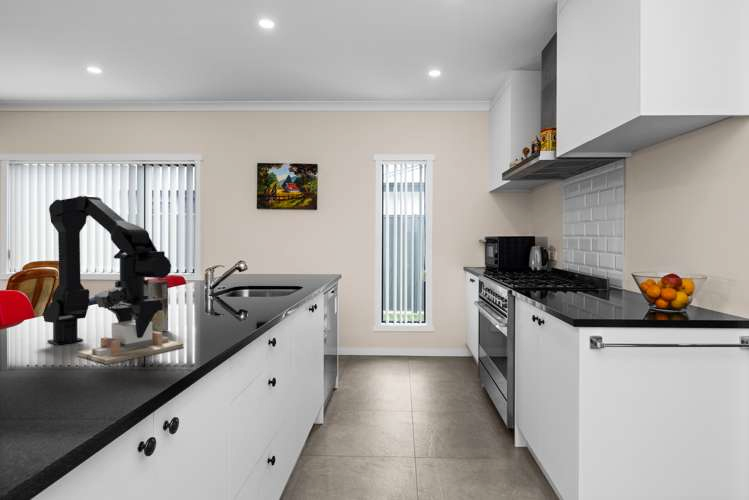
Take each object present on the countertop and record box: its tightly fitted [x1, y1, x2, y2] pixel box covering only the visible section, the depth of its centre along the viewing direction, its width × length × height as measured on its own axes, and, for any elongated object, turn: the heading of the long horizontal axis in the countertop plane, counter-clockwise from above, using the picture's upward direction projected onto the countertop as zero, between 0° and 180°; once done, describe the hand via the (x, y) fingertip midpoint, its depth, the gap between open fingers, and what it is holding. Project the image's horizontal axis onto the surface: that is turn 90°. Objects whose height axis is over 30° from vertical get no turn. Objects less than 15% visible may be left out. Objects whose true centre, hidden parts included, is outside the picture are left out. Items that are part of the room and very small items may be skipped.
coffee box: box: [132, 280, 169, 333], centre depth 137 cm, size 9×6×16 cm
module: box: [111, 320, 152, 348], centre depth 115 cm, size 7×7×6 cm
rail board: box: [76, 331, 184, 365], centre depth 115 cm, size 14×20×4 cm
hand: (132, 335), depth 115 cm, fingers closed on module, 7 cm apart
